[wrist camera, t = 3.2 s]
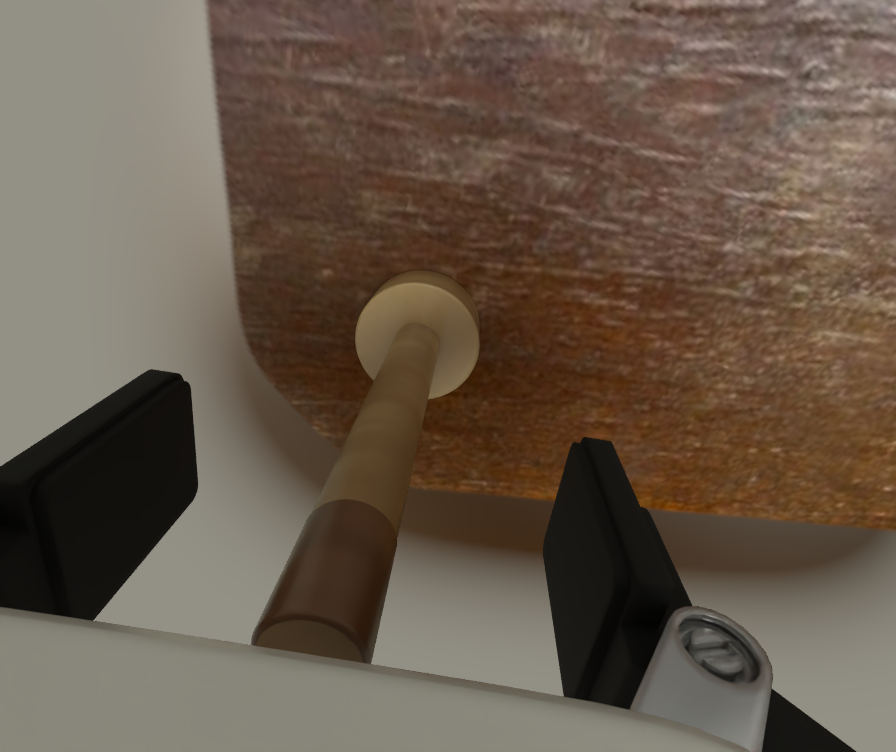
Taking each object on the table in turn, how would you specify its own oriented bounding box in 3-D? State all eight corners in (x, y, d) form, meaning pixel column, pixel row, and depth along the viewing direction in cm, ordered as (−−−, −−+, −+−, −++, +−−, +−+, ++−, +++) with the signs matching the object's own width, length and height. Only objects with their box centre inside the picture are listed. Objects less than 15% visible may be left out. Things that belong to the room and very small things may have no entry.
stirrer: (343, 313, 19) (78, 623, 7) (433, 245, 18) (317, 465, 5) (413, 397, 21) (303, 790, 8) (502, 338, 20) (539, 695, 7)
